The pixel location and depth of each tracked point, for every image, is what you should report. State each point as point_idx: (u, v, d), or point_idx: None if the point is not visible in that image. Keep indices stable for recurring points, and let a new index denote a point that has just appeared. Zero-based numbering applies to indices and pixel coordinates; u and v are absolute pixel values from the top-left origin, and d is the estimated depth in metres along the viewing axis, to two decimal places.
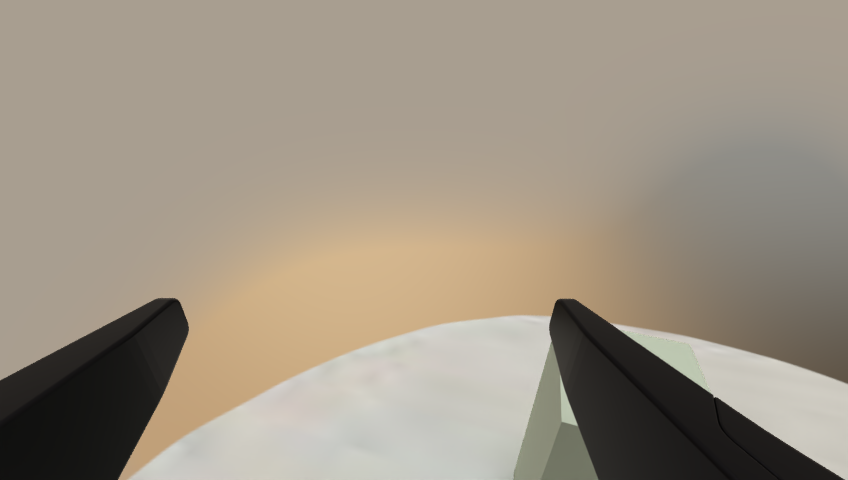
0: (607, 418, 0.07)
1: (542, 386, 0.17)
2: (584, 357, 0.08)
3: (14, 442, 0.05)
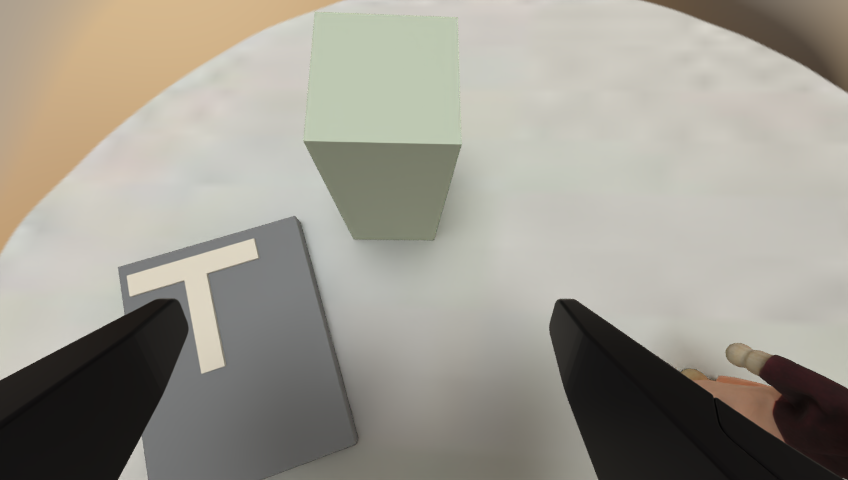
0: (607, 418, 0.07)
1: None
2: (584, 357, 0.08)
3: (13, 442, 0.05)
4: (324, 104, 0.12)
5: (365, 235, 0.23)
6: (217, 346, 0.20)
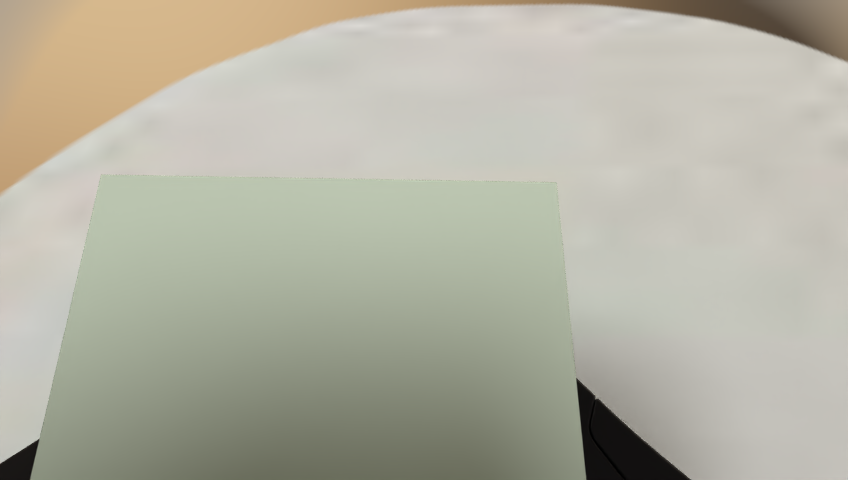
0: None
1: None
2: None
3: None
4: None
5: None
6: None
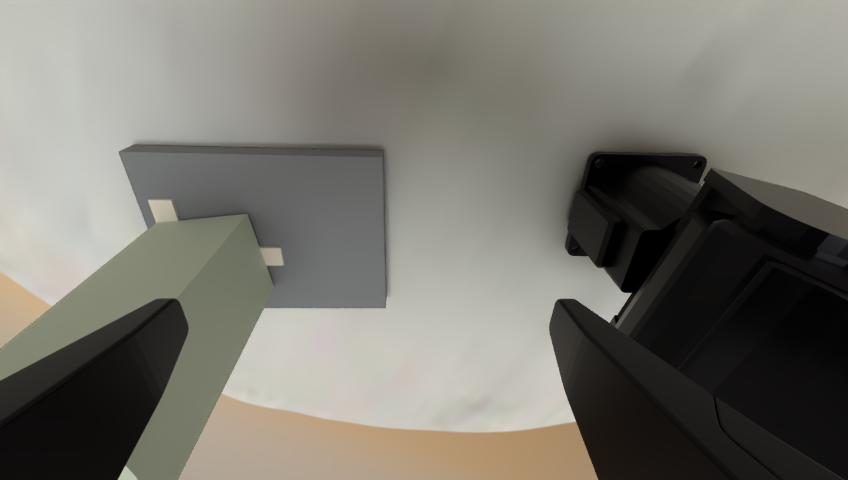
0: (607, 418, 0.07)
1: None
2: (584, 357, 0.08)
3: (13, 442, 0.05)
4: None
5: (265, 285, 0.22)
6: (261, 250, 0.22)
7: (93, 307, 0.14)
